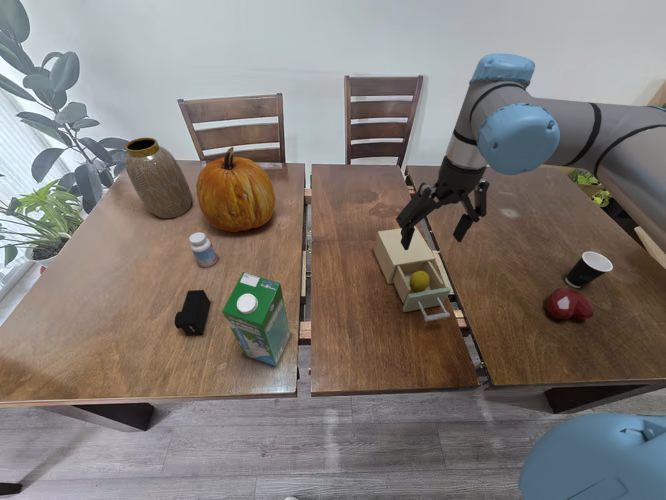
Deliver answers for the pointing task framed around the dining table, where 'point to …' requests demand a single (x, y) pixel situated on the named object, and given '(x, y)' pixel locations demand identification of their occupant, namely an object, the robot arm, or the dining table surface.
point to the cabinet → (399, 251)
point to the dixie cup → (588, 269)
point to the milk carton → (258, 318)
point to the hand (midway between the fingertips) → (430, 242)
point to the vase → (157, 178)
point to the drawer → (423, 299)
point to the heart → (569, 304)
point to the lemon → (419, 281)
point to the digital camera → (193, 313)
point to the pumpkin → (235, 193)
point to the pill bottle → (202, 249)
